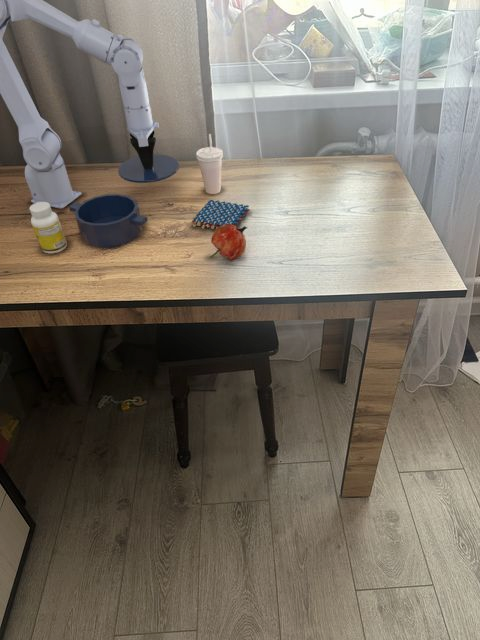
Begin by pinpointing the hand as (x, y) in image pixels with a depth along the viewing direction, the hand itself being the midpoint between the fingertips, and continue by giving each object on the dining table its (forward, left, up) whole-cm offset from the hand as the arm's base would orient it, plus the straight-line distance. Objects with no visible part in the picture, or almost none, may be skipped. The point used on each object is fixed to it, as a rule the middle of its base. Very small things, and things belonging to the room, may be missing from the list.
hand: (148, 165), depth 120 cm
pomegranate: (+29, -18, -8) cm, 35 cm away
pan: (0, -18, -8) cm, 19 cm away
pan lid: (0, 0, -1) cm, 1 cm away
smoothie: (+13, +7, -8) cm, 17 cm away
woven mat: (+21, -5, -8) cm, 23 cm away
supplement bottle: (-8, -28, -8) cm, 30 cm away
